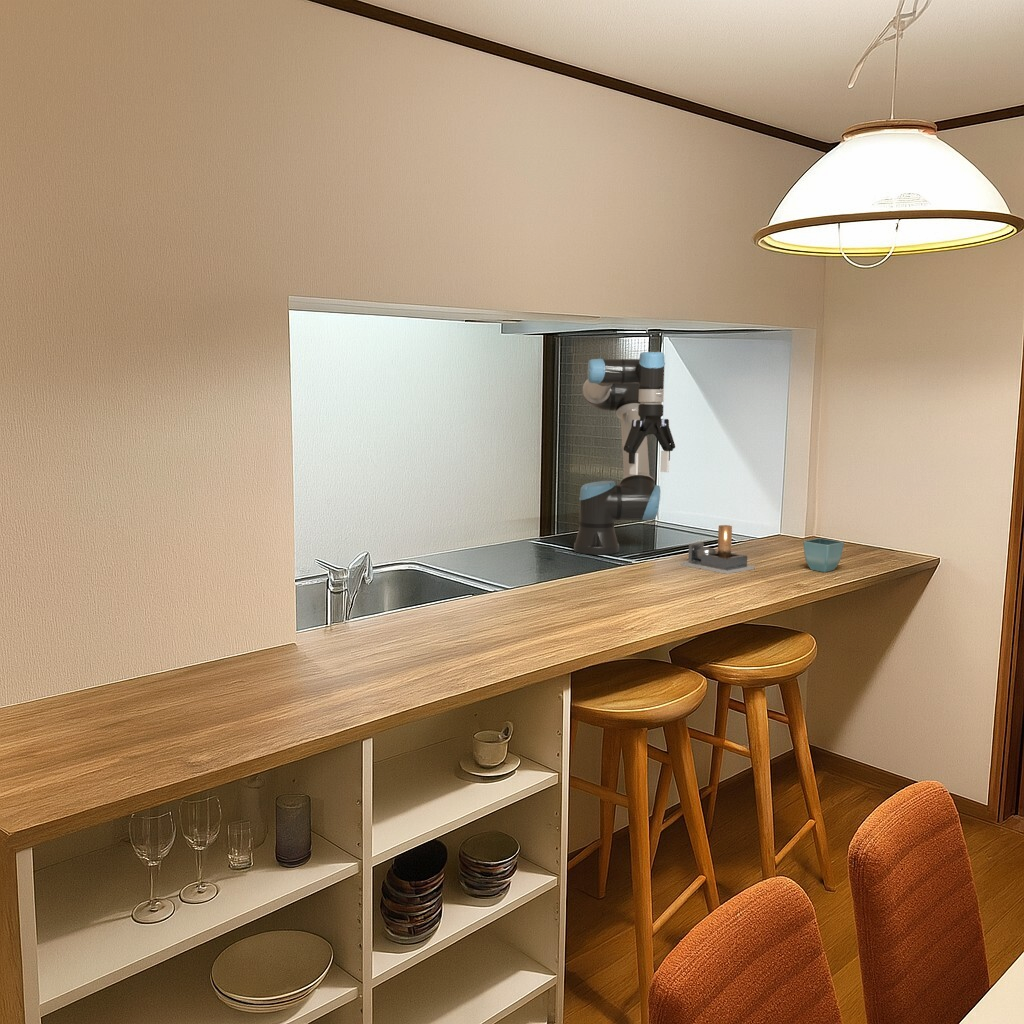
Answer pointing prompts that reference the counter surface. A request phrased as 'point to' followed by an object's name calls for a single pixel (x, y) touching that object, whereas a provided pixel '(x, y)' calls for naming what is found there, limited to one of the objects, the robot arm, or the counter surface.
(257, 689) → the counter surface
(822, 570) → the flower pot
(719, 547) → the pipe stub
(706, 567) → the dark grey holder base
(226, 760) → the counter surface
